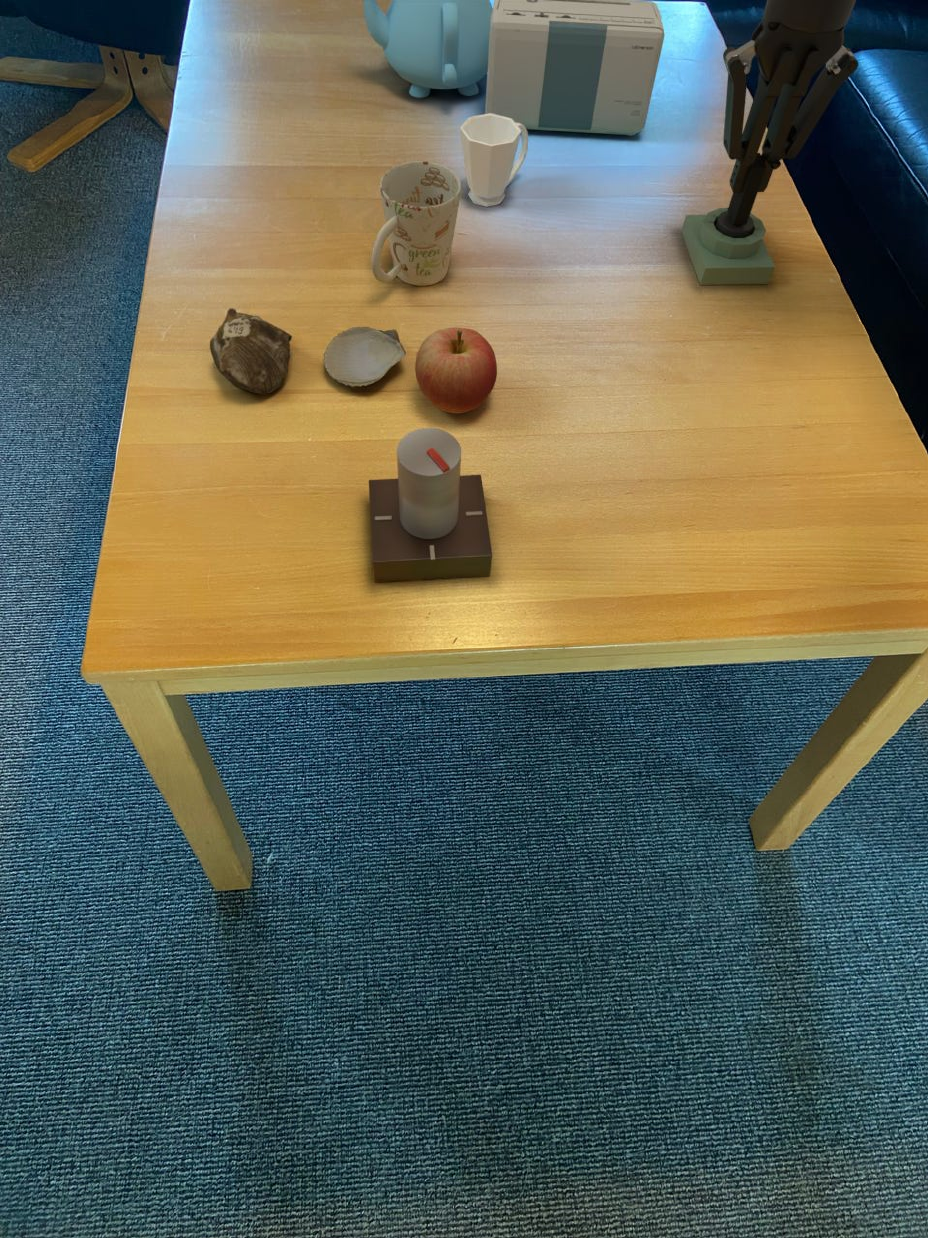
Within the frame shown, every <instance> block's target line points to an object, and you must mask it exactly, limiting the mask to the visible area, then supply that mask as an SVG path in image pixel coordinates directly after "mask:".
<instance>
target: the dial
mask: <svg viewBox="0 0 928 1238" xmlns="http://www.w3.org/2000/svg"><path fill="white" fill-rule="evenodd" d="M396 463H397V479H398V488H399V511H400V521H401V524H402V526H403V527H404V529H405V530H406V531H407V532H409V533H410V534H411V535H413V536H415V537H418V538H422V539H436V538H440V537H443V536H445V535H447V534H448V533H450V532H451V531H452V530H453V529H454V527H455V526H456V524H457V521H458V508H459V489H460V476H461V468H462V467H461V466H462V447H461V445H460V443H459V441H458V440H457V438H456V437H455V436H454V435H452V434H451V433H449V432H447V431H445V430H443V429H440V428H434V427H424V428H419V429H415V430H412V431H410V432H409V433H407V434H406V435H404V436H403V437H402V438H401V439H400V441H399V443H398V445H397V449H396Z"/></svg>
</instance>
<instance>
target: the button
mask: <svg viewBox="0 0 928 1238" xmlns="http://www.w3.org/2000/svg"><path fill="white" fill-rule="evenodd" d="M753 226H754V221H753V219H752V218H751V217H750V216H749V218H748V221H747V224H746V225H733V223H732V221H731V218H730V216H729V214H728V211H724V212H722V213H721V214H720V215H719V217H718V220H717V223H716V226H715V228H716V230H718V231H719V232H720V233H722V234H723V235H725V236H729V237H732V238H746V237H748V236H750V234H751V231H752V228H753Z"/></svg>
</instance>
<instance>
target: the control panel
mask: <svg viewBox="0 0 928 1238" xmlns="http://www.w3.org/2000/svg"><path fill="white" fill-rule="evenodd" d="M368 494H369V496H368V497H369V515H370V516H369V518H370V538H371V557H372V558H371V560H372V571H373V572H372V573H373V581H374V583H389V582H405V581H422V580H423V581H425V580H439V579H441V580H442V579H457V578H459V579H461V578H474V577H489V576H491V571H492V562H493V549H492V541H491V535H490V529H489V528H490V527H489V521H488V514H487V507H486V499H485V492H484V486H483V480H482V475H481V474H467V475H466V474H465V475H460V489H459V508H458V521H457V524H456V526H455V527H454V529H453V530H452V531H451V532H450V533H448V534H447V535H445V536H443V537H440V538H436V539H422V538H418V537H415V536H413V535H411V534H410V533H409V532H407V531H406V530H405V529H404V527H403V526H402V524H401V521H400V511H399V488H398V478H384V479H383V478H380V479H368Z"/></svg>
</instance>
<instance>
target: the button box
mask: <svg viewBox="0 0 928 1238" xmlns="http://www.w3.org/2000/svg"><path fill="white" fill-rule="evenodd" d="M727 210H728V207H719V208H716V209H713V210H711V211H709V212H707V213H706V214H685V217H684V220H683V225H682V227H681V231H680V233H681V236H682V238H683V241H684V244H685V247H686V249H687V252H688V255H689V257H690V260H691V263H692V266H693V269H694V273H695V275H696V278H697V280H698V283H699V286H721V285H722V286H723V285H724V286H725V285H726V286H727V285H728V286H729V285H769V284H770V283H769V282H770V280H771V278H772V276H773V273H774V270H775V268H776V266H775V263H774V261H773V259H772V256H771V255H770V252H769V250H768V247H767V245H766V243H765V241H764V238H765V234H766V232H767V230H766V226H765V225H764V223H763V220H761V219H760V217H759V218H758V217H757V216H756V215H755V214H753V213H750V215H749V216H750V217H751V218H752V219H753V221H754V226H753V228H752V231H751V234H750V236H748V237H746V238H732V237H729V236H725V235H723V234H722V233H720V232H719V231H718V230H716V228H715V226H716V223H717V220H718V217H719V215H720V214H721V213H722V212H724V211H727Z"/></svg>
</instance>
